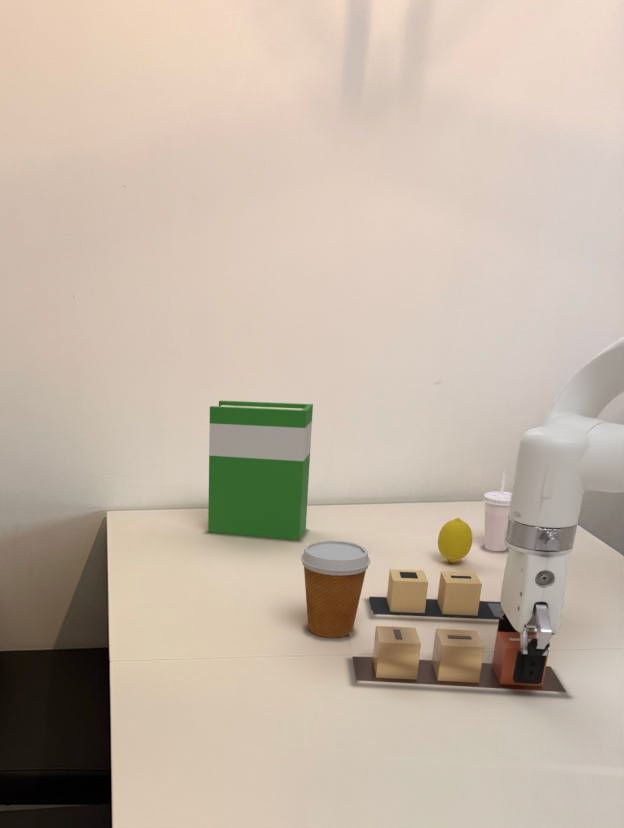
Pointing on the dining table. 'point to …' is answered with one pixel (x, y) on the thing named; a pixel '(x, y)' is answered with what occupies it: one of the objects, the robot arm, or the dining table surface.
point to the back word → (453, 599)
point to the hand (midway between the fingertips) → (516, 664)
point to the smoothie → (496, 517)
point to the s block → (509, 657)
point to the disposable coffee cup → (333, 585)
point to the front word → (435, 661)
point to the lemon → (455, 540)
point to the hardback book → (259, 468)
